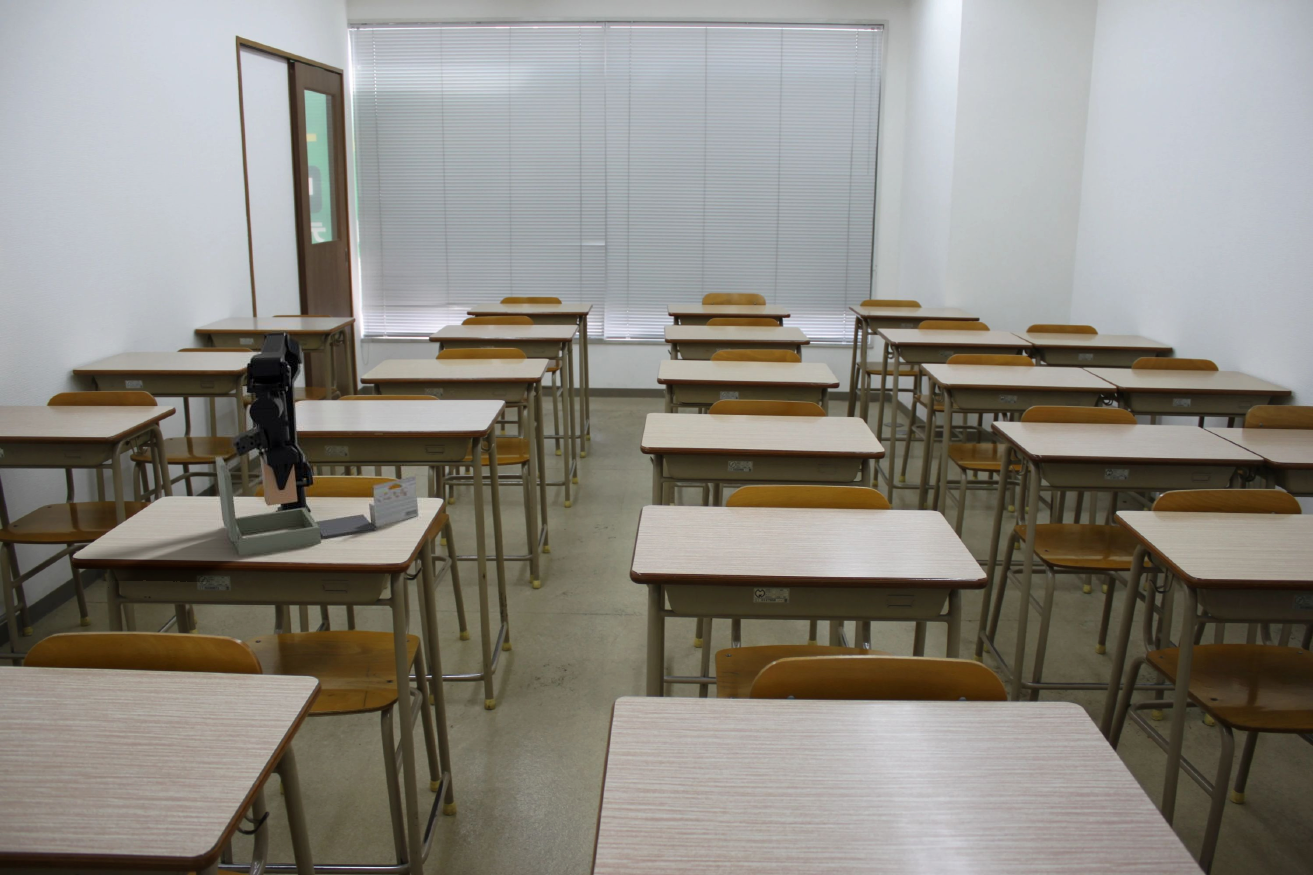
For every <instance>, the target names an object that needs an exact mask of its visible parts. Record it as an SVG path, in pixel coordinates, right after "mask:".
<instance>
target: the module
mask: <svg viewBox="0 0 1313 875" xmlns="http://www.w3.org/2000/svg"><path fill="white" fill-rule="evenodd" d="M259 457H260V458H259V459H260V467H261V475H262V476H261V478H262V488H263V497H264V502H265V504H266V506H275V505H280V504H283V503H290V502H297V492H296V481H295V471H294V465H293V467H292V470H291V472H290V475H289V478H288V481H287V483H286V486H285V489H284V490H279V489H278V486H277V483H276V480H275V476H274V473H273V470H272V468H271V467H269V466H268V465H266V464H265V462H264V461H265V458H264V454H263V456H260V455H259Z"/></svg>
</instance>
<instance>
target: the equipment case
mask: <svg viewBox="0 0 1313 875" xmlns="http://www.w3.org/2000/svg"><path fill="white" fill-rule="evenodd" d="M214 458H215V466H216V467H215V468H216V474H217V483H218V491H219V501H220V510H221V518H222V521H223V526H224V527H225V529H226V531H227V533H228V536H229V540H230V541H231V542H233V544H234V546H235V549H236V550H237V553H238V555H239V557H246V556H251V555H256V554H257V555H258V554H263V553H269V552H274V551H275V552H276V551H281V550H287V548H288V549H294V548H299V547H304V546H310V545H317V544H321V543H322V540H321V538H322V537H321V535H320V527H319V526H318V525H317V523H316V522H317V521H316V520H315V519H314V517H313V516H312V515H311V512H308V511H307V509H306V508H299V509H292V510H285V511H278V510H277V511H273V512H266V513H259V514H252V515H245V516H239V517H236V511H235V503H234V502H235V501H234V493H233V485H232V476H231V472H230V471H229V469H228V468H229V467H227V465H226V463H225V461H224V459H223V457H222V456H217V457H214ZM300 525H302V526H304V527H302V528H298V529H291V530H286V531H280V532H278V531H277V532H272V533H266V534H260V535H254V536H248V537H243V536H242V535H243V534H249V533H255V532H261V531H268V530H274V529H281V528H288V527H292V526H293V527H294V526H300Z"/></svg>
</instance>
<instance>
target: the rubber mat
mask: <svg viewBox="0 0 1313 875" xmlns="http://www.w3.org/2000/svg"><path fill="white" fill-rule="evenodd" d="M315 522H316V523H317V525H318V526H319V527H320V537H321V538H322V539H330V538H336V537H342V536H347V535H348V536H349V535H355V534H361V533H367V532H373V531H376V527H375V526H373V525H372V524H371V521H370V520H369V519H368V518H367V517H366V516H365V515H364V513H362V514H357V515H350V516H344V517H337V518H331V519H324V520H318V521H315Z"/></svg>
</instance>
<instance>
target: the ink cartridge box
mask: <svg viewBox="0 0 1313 875" xmlns="http://www.w3.org/2000/svg"><path fill="white" fill-rule="evenodd" d="M416 477H417V476H416V475H413V476H410V477H405V478H400V479H397V480H392V481H388V482H384V483H383V482H382V483H378V484H374V485H372V489H373V490H372V493H373V502H371V503H368V505H369V506H368V507H369V517H370V518H369V519H370V523H371V524H372V525H373V526H374V527H375V528H377V527H381V526H385V524H386V525H390V524H393V523H396V522H400V521H404V520H408V519H412V518H416V517H418V516H419V507H418V504H419V503H418V495H417V481H416V479H417V478H416ZM395 484H396V485H397V484H398V485H400V486H399V487H396V488H392V489H389V488H391V487H392V486H394V485H395ZM415 516H416V517H415ZM411 517H412V518H411Z"/></svg>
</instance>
